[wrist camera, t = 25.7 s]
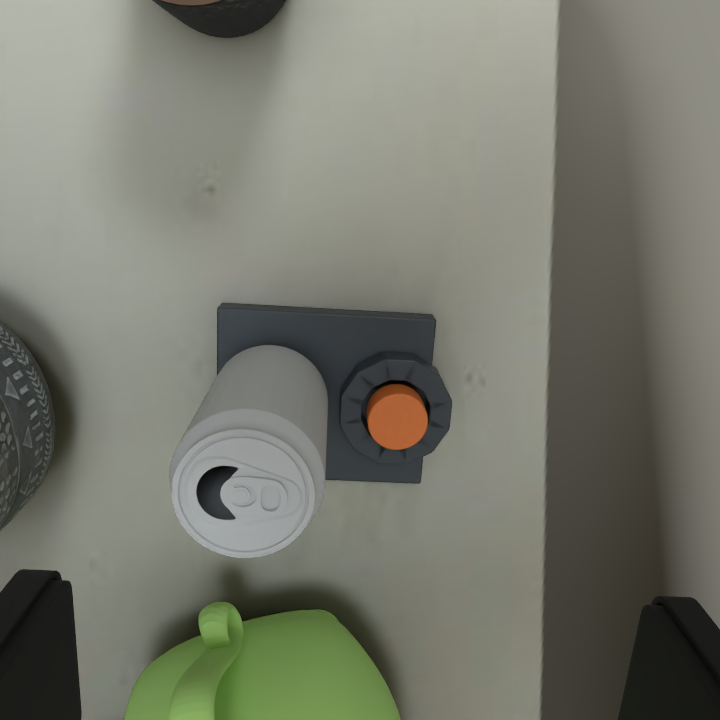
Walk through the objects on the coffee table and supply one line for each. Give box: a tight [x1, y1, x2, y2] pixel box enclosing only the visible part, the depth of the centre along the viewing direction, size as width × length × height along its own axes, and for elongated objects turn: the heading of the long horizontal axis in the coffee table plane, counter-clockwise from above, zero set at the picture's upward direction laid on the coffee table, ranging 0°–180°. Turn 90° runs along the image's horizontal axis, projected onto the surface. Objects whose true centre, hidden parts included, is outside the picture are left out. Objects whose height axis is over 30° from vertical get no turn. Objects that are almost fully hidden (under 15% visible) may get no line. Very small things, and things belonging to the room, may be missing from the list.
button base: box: [217, 303, 452, 484], centre depth 38 cm, size 13×10×3 cm
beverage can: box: [170, 345, 328, 558], centre depth 32 cm, size 6×6×12 cm
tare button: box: [366, 384, 428, 450], centre depth 36 cm, size 3×3×2 cm
